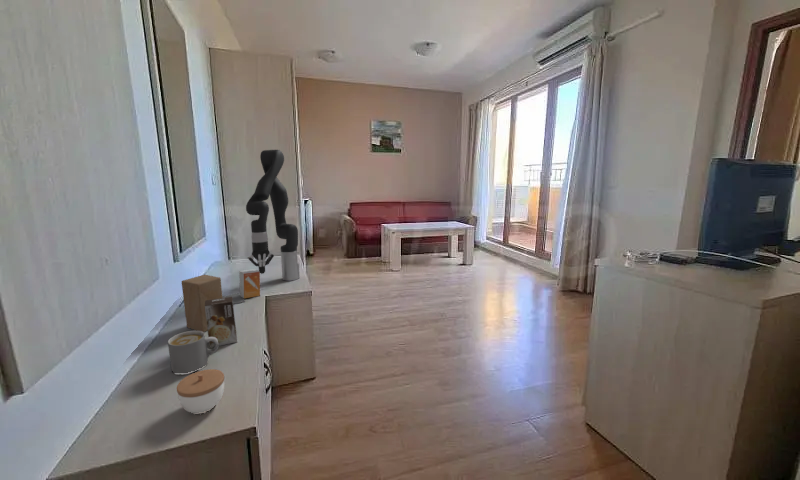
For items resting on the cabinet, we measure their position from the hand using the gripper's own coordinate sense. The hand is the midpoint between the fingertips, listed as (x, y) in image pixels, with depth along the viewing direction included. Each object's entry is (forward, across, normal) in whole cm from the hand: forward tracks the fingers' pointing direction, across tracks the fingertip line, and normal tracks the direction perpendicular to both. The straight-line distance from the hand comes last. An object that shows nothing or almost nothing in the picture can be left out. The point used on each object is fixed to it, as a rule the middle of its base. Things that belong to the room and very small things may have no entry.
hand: (262, 273), depth 170 cm
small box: (+11, +7, 0) cm, 13 cm away
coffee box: (+12, +27, +44) cm, 53 cm away
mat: (+11, +20, 0) cm, 23 cm away
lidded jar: (+12, +38, +80) cm, 89 cm away
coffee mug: (+12, +37, +56) cm, 68 cm away
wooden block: (+12, +30, +25) cm, 40 cm away
